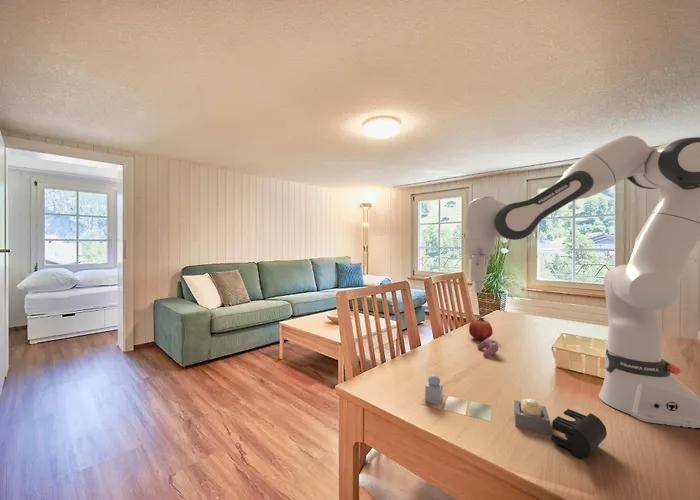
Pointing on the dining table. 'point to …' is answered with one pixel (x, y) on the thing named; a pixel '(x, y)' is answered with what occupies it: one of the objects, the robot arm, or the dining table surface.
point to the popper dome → (531, 407)
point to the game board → (463, 407)
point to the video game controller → (488, 347)
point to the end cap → (579, 433)
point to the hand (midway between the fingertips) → (478, 292)
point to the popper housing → (531, 419)
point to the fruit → (480, 329)
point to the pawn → (433, 390)
